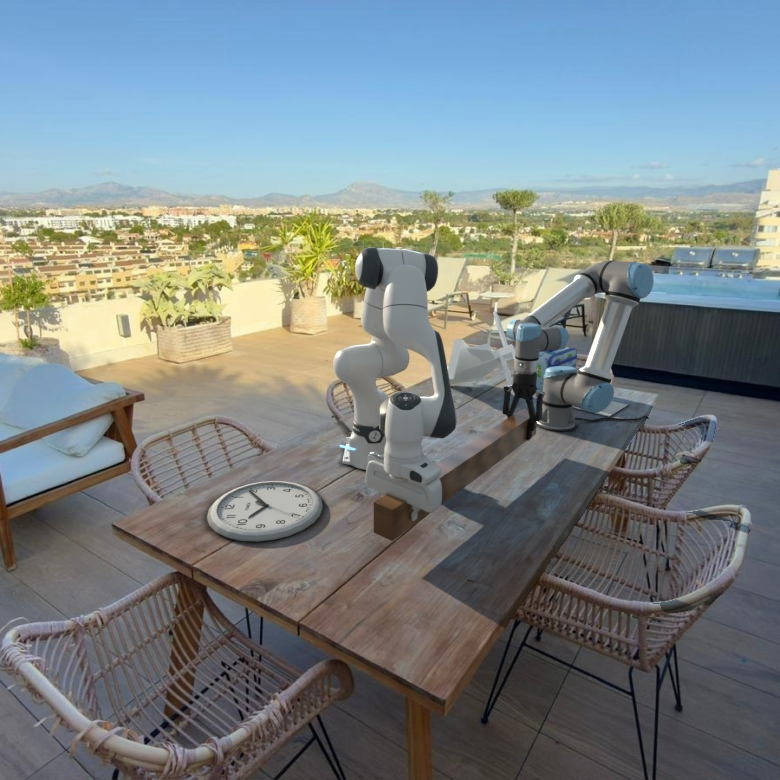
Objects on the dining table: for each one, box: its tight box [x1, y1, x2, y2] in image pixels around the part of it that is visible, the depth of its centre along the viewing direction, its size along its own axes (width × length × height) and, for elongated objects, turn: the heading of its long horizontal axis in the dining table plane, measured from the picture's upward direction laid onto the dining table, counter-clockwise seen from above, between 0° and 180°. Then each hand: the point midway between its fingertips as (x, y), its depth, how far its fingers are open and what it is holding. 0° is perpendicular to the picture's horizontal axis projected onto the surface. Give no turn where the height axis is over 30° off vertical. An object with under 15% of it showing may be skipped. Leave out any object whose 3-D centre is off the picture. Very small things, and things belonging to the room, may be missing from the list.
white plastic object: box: [447, 310, 516, 397], centre depth 245 cm, size 37×45×31 cm
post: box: [373, 408, 538, 542], centre depth 151 cm, size 82×6×8 cm, turn 142°
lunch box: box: [536, 346, 578, 392], centre depth 244 cm, size 26×11×21 cm, turn 135°
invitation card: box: [573, 400, 629, 418], centre depth 226 cm, size 21×1×15 cm
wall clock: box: [206, 480, 324, 543], centre depth 140 cm, size 30×2×30 cm
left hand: (400, 514), depth 125 cm, fingers closed on post, 5 cm apart
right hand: (520, 436), depth 178 cm, fingers closed on post, 6 cm apart
